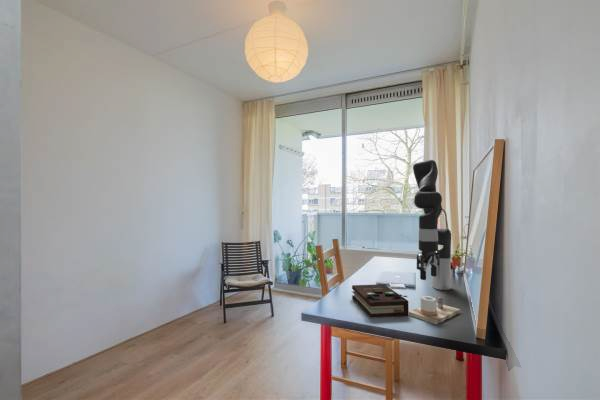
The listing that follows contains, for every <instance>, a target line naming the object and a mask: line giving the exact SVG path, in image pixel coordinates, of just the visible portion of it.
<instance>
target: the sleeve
mask: <svg viewBox="0 0 600 400" xmlns="http://www.w3.org/2000/svg"><path fill="white" fill-rule="evenodd" d="M437 303H438V299H436V298H435V297H433V296H429V295H428V296H427V295H423V296H421V297H420V307H421V312H422V313H423V314H426V315H436V314H437Z"/></svg>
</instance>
